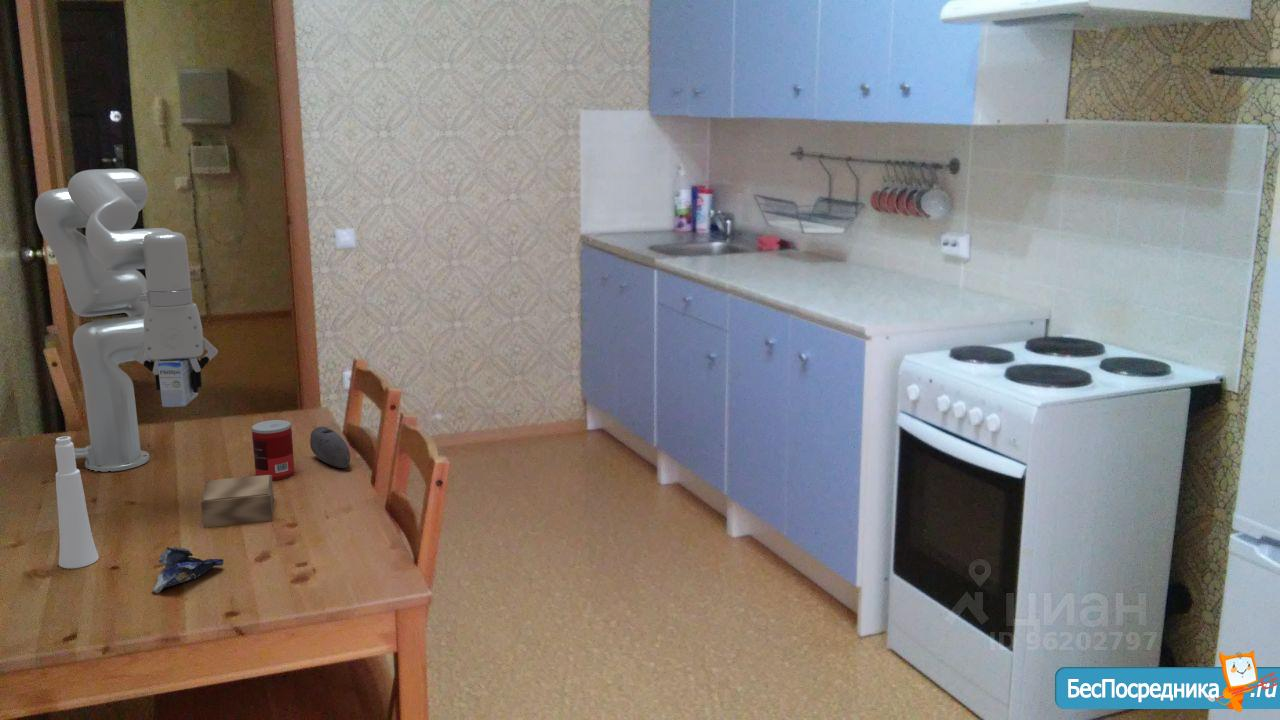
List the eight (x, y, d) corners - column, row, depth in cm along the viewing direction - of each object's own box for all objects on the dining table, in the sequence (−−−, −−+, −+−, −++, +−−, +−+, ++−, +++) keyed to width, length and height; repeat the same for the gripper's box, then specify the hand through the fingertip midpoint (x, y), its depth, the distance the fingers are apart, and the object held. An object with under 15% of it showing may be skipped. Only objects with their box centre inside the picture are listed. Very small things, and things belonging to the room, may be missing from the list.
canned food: (300, 469, 227) (296, 420, 225) (284, 481, 220) (280, 431, 217) (266, 468, 228) (262, 419, 226) (249, 480, 220) (245, 430, 218)
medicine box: (175, 396, 207) (170, 353, 205) (199, 396, 207) (194, 352, 205) (161, 407, 199) (156, 362, 197) (186, 406, 200) (181, 361, 198)
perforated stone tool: (358, 470, 227) (356, 439, 226) (335, 475, 224) (333, 444, 222) (332, 453, 239) (329, 423, 237) (309, 457, 236) (306, 427, 234)
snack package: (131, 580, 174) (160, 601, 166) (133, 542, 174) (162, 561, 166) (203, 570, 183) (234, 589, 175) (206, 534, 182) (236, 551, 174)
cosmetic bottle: (71, 571, 177) (55, 445, 172) (51, 563, 180) (34, 439, 175) (106, 559, 182) (91, 436, 177) (85, 551, 185) (70, 430, 180)
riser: (203, 527, 195) (201, 501, 194) (208, 505, 207) (206, 479, 205) (272, 520, 199) (270, 494, 198) (273, 498, 210) (271, 473, 209)
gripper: (117, 304, 193) (128, 400, 197) (217, 299, 198) (226, 393, 202) (123, 297, 200) (134, 391, 204) (220, 293, 205) (229, 384, 209)
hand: (179, 391), depth 203 cm, fingers closed on medicine box, 5 cm apart
